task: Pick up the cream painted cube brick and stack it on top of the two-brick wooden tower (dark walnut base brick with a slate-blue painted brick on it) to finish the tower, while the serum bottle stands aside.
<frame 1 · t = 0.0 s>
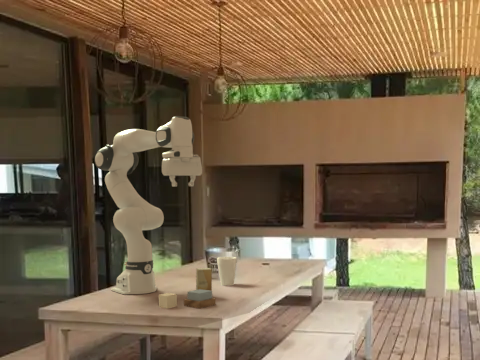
hand: (182, 186, 239), 48 cm above the table, tool pointing down, fingers open, 8 cm apart
walnut base brick: (199, 306, 226), on the table
cream brick: (167, 307, 224), on the table
foam cup: (227, 285, 272), on the table
skincare box: (204, 297, 243), on the table
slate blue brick: (199, 298, 226), point 2 cm above the table
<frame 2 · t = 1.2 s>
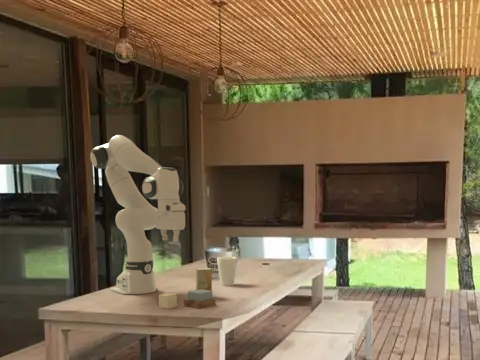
hand: (170, 240, 227), 26 cm above the table, tool pointing down, fingers open, 8 cm apart
walnut base brick: (199, 306, 226), on the table, touching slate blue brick
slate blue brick: (200, 298, 226), point 2 cm above the table, touching walnut base brick
everything else where it was.
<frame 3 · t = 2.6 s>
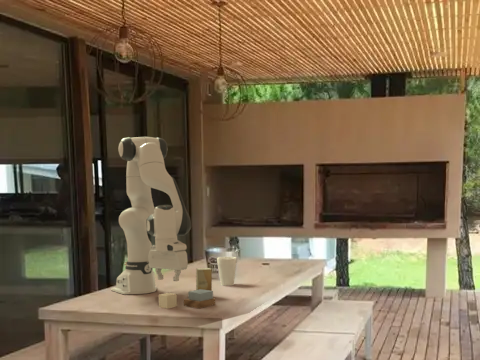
hand: (168, 280, 224), 11 cm above the table, tool pointing down, fingers open, 8 cm apart
walnut base brick: (199, 306, 226), on the table
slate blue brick: (200, 298, 226), point 2 cm above the table
everything else where it was.
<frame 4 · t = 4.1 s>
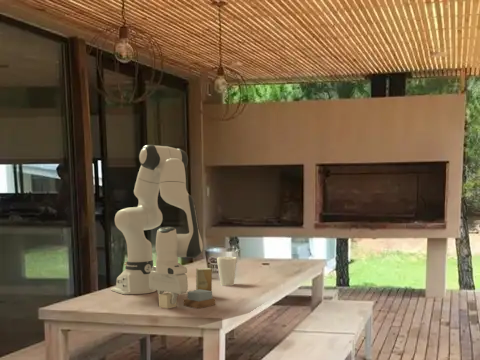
hand: (167, 302, 224), 2 cm above the table, tool pointing down, fingers closed on cream brick, 5 cm apart
cream brick: (167, 306, 224), on the table, touching gripper
everything else where it was.
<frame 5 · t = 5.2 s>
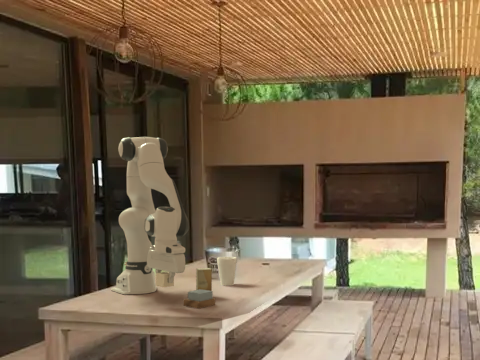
hand: (165, 281, 224), 10 cm above the table, tool pointing down, fingers closed on cream brick, 5 cm apart
walnut base brick: (199, 306, 226), on the table, touching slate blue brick
cream brick: (164, 285, 224), point 8 cm above the table, touching gripper
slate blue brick: (200, 298, 226), point 2 cm above the table, touching walnut base brick
everything else where it was.
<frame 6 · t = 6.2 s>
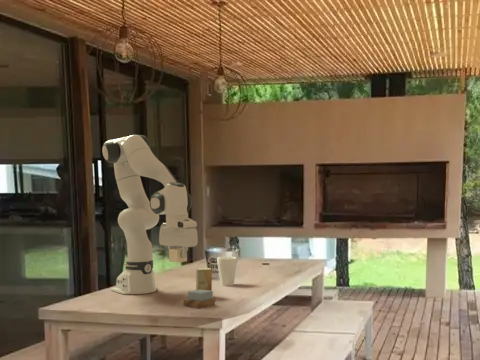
hand: (178, 257, 225), 20 cm above the table, tool pointing down, fingers closed on cream brick, 5 cm apart
cream brick: (178, 261, 224), point 18 cm above the table, touching gripper
everything else where it was.
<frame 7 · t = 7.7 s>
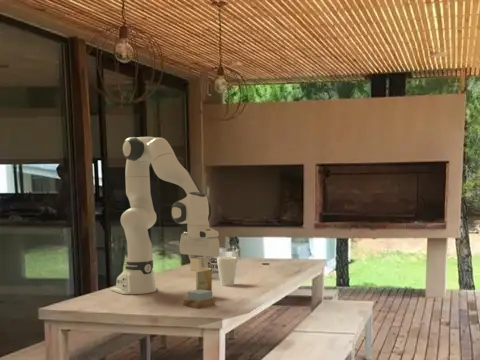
hand: (199, 266, 226), 15 cm above the table, tool pointing down, fingers closed on cream brick, 5 cm apart
cream brick: (199, 270, 226), point 14 cm above the table, touching gripper
everything else where it was.
when the fingers open (9 cm above the table, at t = 9.6 s): cream brick drops 2 cm, point 5 cm above the table.
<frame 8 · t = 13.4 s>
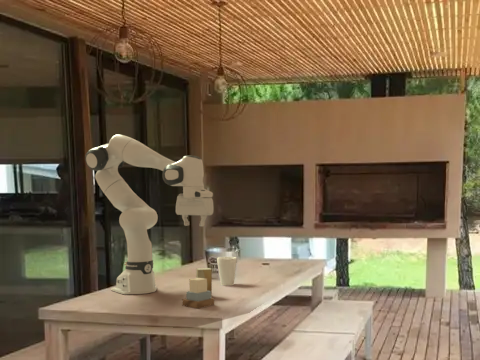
hand: (194, 225, 238), 31 cm above the table, tool pointing down, fingers open, 8 cm apart
cream brick: (198, 291, 226), point 5 cm above the table
everything else where it was.
at the end: cream brick 0.2 cm off-centre on the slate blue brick, point 3.0 cm above the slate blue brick's base; cream brick tilted 0°; the gripper is holding nothing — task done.
